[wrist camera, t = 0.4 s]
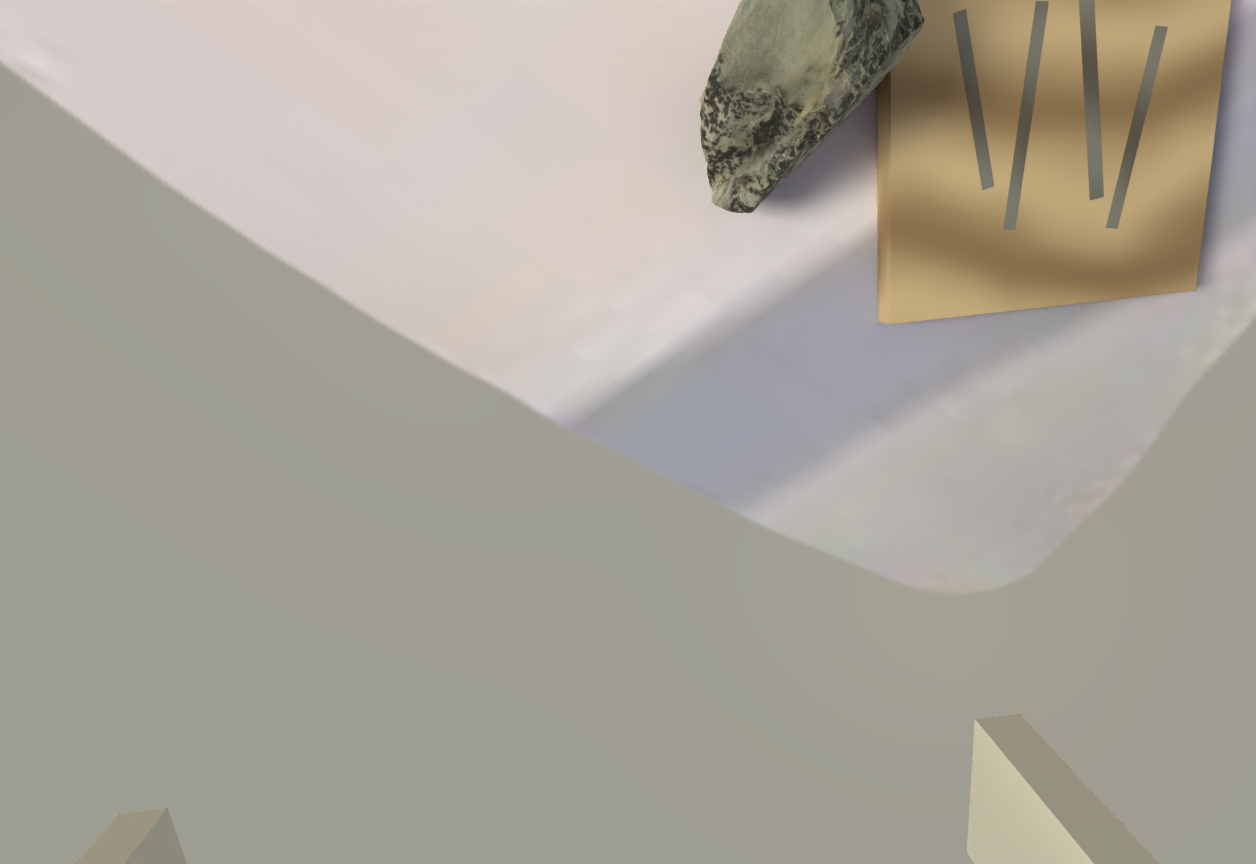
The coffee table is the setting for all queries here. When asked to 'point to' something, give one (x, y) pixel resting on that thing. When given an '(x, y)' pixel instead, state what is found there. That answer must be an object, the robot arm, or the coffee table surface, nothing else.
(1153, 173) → the board
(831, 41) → the stone
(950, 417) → the coffee table surface
